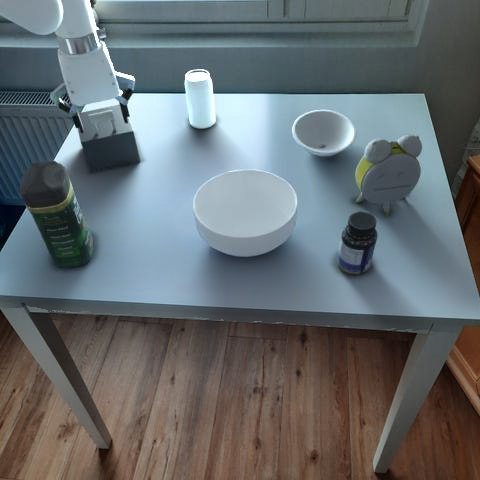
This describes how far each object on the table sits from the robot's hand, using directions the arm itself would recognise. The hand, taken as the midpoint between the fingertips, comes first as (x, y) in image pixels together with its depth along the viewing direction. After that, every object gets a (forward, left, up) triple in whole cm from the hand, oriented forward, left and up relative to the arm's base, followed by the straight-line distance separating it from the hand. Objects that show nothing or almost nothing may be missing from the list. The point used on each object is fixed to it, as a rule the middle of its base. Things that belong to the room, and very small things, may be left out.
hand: (103, 125), depth 102 cm
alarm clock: (+50, -35, -10) cm, 62 cm away
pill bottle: (+37, -48, -10) cm, 62 cm away
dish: (+47, -12, -10) cm, 50 cm away
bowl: (+21, -33, -10) cm, 41 cm away
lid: (0, +4, -2) cm, 5 cm away
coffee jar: (-12, -26, -10) cm, 30 cm away
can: (+24, +10, -10) cm, 28 cm away
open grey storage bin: (0, +5, -10) cm, 11 cm away
